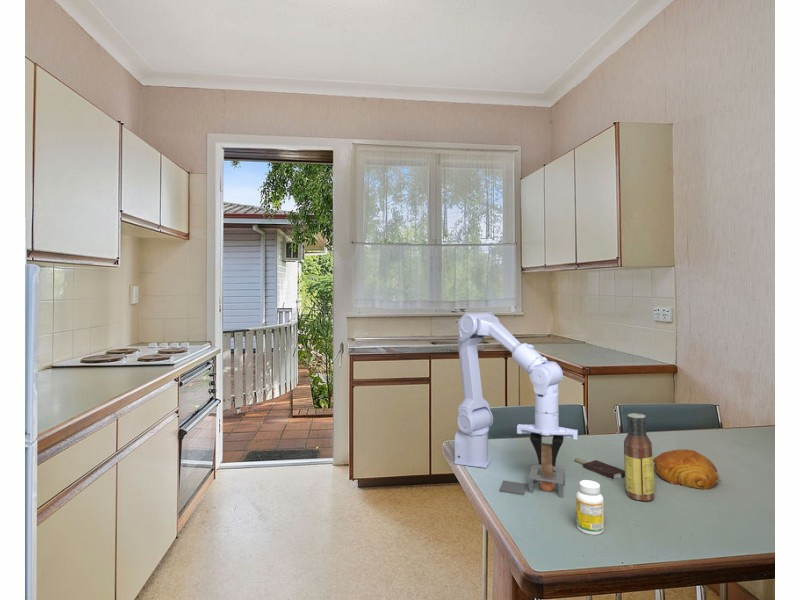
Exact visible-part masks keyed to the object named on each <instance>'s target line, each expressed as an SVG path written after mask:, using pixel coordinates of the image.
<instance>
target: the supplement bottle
mask: <svg viewBox="0 0 800 600" xmlns="http://www.w3.org/2000/svg"><path fill="white" fill-rule="evenodd" d="M575 497H576V499H575V501H576V503H575V505H576V513H575V515H576V519H575V520H576V522H575V523H576V524H575V525H576V528H577V529H578V530H579V531H581V532H582V533H583V534H586V535H592V536H598V535H601V534H603V532H604V530H605V529H604V528H605V524H604V523H605V522H604V521H605V519H604V515H605V514H604V513H605V512H604V511H605V510H604V506H605V505H604V496H603V495H602V494H601V485H600V483H598V481H594V480H591V479H590V480H589V479H583V480H580V481H579V490H578V491H577V492H576V495H575Z"/></svg>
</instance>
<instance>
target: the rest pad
mask: <svg viewBox="0 0 800 600" xmlns="http://www.w3.org/2000/svg"><path fill="white" fill-rule="evenodd" d="M527 487H528V483H524V482H517V481H510V480H505V479H504V480H503V481H502V483H501V485H500V487H499V488H498V491H499V492H501V493H506V492H507V493H509V494H514V495H520V496H524V495H525V493H526V489H527Z"/></svg>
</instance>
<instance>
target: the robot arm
mask: <svg viewBox="0 0 800 600" xmlns="http://www.w3.org/2000/svg"><path fill="white" fill-rule="evenodd" d="M457 328H458V335H457V348H458V357H459V366H460V373H461V374H460V376H461V383H462V385H461V386H462V392H463V393H462V394H463V400H462V401H461V403H460V404H459V406H458V408H457V411H458V414H457V418H456V423H457V426H458V428H459V429H456V432H455V436H454V461H453V464H454V465H461V466H469V467H475V468H482V469H483V468H484V469H485V468H486V469H487V468H488V466H489V464H490V462H491V460H492V459H493V458H492V457H491V456H489V443H488V442H489V437H488V436H489V431H490V427H491V426H492V425H493V422H494V416H493V413H492V411H491V408H490V404H489V401H487V400H486V399H485V398H484V397H483V389H482V388H483V387H482V380H481V371H480V362H479V353H478V344H479V343H480V341H481V340H482V339H483V338H485V337H486V336H487V337H491V338H493V339H494V340H495V341H496V342H498V343H499V344H500V345H501V346H503V347H504V348H505V349H507V351H508V352H510V353H511V358H512V360H513V361H514V362H515V363H516V364H517V365H518V366H519V367H521V369H522V370H524V372H526V373H527V374H528V375H529V376H528V377H529V380H530V382H531V384H532V385H533V391H534V424H520V423H519V424H518V423H517V426H516V434H519V435H522V434H524V435H525V434H526V435H529V436H530V437H529V440H530V442H531V444H532V446H533V448H534V451H535V453H536V456H537V461H538V465H539V466H541V445H542V443H543V442H542V441H543V436H545V437H552V440H551V444H552V447H553V457H552V466H553V467H556V463H557V457H558V454H559V451H560V449H561V447H562V445H563V443H564V439H565V438H567V439H573V440H574V441H575V440H576V441H577V440H578V438H579V436H578V434H579V432H578V431H579V430H578V429H573V428H568V427H562V426H560V425H559V417H560V416H559V415H560V414H559V384H560V382H562V380H563V375H564V374H563V373H564V372H563V370H562V368H561V366H560V365H559V364H558V362H555V361H549V360H548V359H547V357H545V356H542V354H541V353H539V352H538V351H536V350H535V349H534V348H535V346H533V345H532V343H531V344H528V343H526V342H524V343H521V342H520V341H519V340H518V339H517V338H516V337H515V336H514V335H513V334H512V333H511V332H510V331H509V330H508V329H507V328H506V327H505V326H504V325H503V324H502V323H501V322H500V319H499V318H498V317H497V316H495V315H494V314H493V313H492V312H491V311H484V312H466V313H464V314H462V316H461V317H460V319H458V321H457Z"/></svg>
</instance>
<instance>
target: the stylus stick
mask: <svg viewBox="0 0 800 600" xmlns="http://www.w3.org/2000/svg"><path fill="white" fill-rule="evenodd" d="M552 457H553V447H552V443H547V442H546V443H545V442H542V445H541V465H540V466H541V471H540V472H541V476H548V477H554V472H553V468H554V466H552ZM542 482H547V481H542ZM548 483H552V482H548Z"/></svg>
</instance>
